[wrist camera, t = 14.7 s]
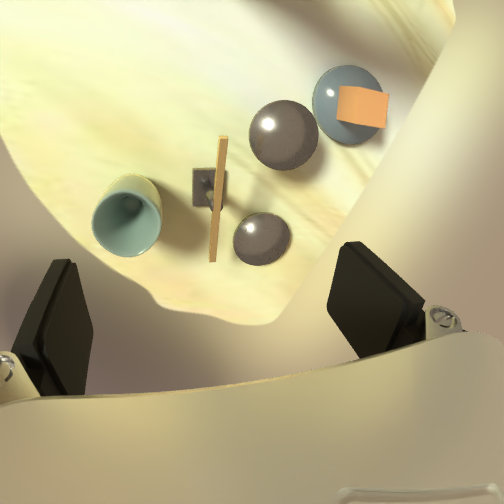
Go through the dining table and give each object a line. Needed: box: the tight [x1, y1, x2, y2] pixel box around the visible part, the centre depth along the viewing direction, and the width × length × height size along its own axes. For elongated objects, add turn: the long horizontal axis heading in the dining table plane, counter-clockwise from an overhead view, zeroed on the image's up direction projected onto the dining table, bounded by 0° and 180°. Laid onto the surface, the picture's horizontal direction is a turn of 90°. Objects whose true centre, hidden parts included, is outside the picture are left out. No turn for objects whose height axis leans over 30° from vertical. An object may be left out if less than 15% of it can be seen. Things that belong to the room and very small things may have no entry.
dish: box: [312, 66, 382, 144], centre depth 40 cm, size 12×12×1 cm
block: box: [336, 86, 389, 129], centre depth 38 cm, size 5×5×5 cm
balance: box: [192, 100, 318, 266], centre depth 38 cm, size 24×14×11 cm, turn 175°
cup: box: [92, 174, 163, 257], centre depth 35 cm, size 8×8×10 cm
